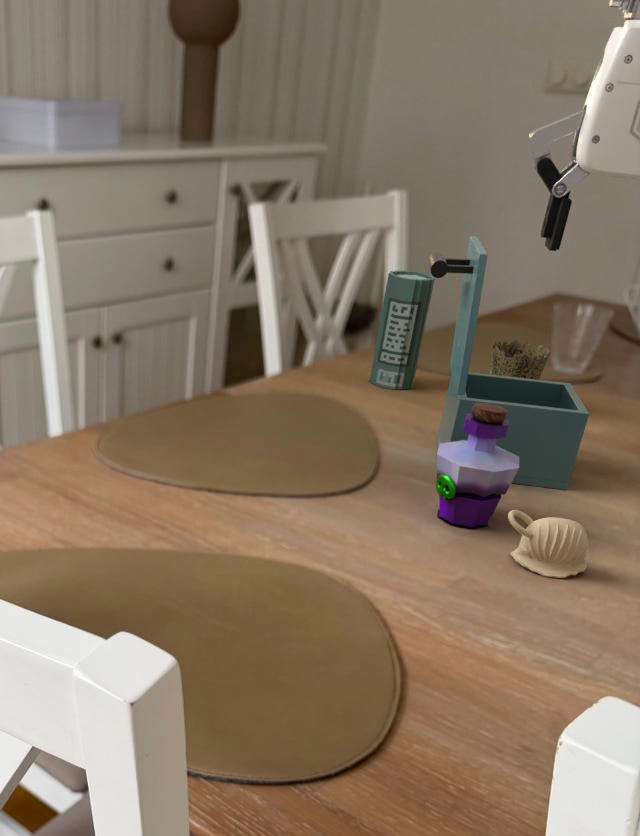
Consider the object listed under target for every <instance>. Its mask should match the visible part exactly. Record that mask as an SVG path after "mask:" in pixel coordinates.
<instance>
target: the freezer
mask: <svg viewBox="0 0 640 836" xmlns="http://www.w3.org/2000/svg"><path fill="white" fill-rule="evenodd" d="M475 403H487V404H493V405H497V406H500V407H503V408H505V409H506V410H507V411H508V412H507V415H506V418H505V419H507V420H509V424H508V429H507V433H506V437H505V438H499V439H497V442H496V446H498V447H500V448H502V449H504V450H506V451H508V452H511V453H513V454H515V455H517V456H519V469H518V471H517V473H516V475H515V477H514V479H513V481H512V482H511V484H516V485H524V486H531V487H539V488H548V489H555V490H563V491H567V489H568V486H569V482H570V480H571V476H572V473H573V469H574V465H575V463H576V459H577V457H578V453H579V449H580V446H581V443H582V440H583V436H584V433H585V430H586V426H587V424H588V419H589V417H590V413H589V411H588V409H587V408H586V407H585V405H584V403H583V401H582V400H581V398H580V396H579V395H578V394H577V392H576V390H575V389H574V387H573V386H572V383H569V382H560V381H554V380H553V381H552V380H544V379H539V380H535V379H526V378H517V377H508V376H499V375H490V373H481V372H480V373H479V372H472V371H468V377H467V383H466V389H465V395H457V392H456V388H455V384H454V380H453V377H452V373H451V374H450V379H449V383H448V387H447V391H446V396H445V401H444V405H443V410H442V414H441V418H440V423H439V428H438V433H437V437H436V445H437V449H438V448H439V444H440V443H447V442H454V441H462V440H466V441H468V437H469V434H468V433H466V432H464V431H463V428H464V423H465V419H466V414H468V413H471V410H472V408H473V406H474V404H475Z"/></svg>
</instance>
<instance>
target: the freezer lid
mask: <svg viewBox="0 0 640 836" xmlns="http://www.w3.org/2000/svg"><path fill="white" fill-rule="evenodd" d="M488 256H489V255H488V253H487V251H486V248H485V247H484V246H483V243H482V242H481V240H480V239H479V238H478V236H477V235H470V236H469V238H468V244H467V251H466V258H453V257H452V258H450V257H449V258H448V257H445V255H444V254H443V253H442V252H433V253H432V254H431V255H430V256H429V258H428V259H427V260H428V261H427V263H428V267H429V270H430V275H432V276H433V277H435V279H441V278H443V277H445V276H446V275H447V274H463V276H462V277H463V278H462V282H461V283H462V284H461V290H460V297H459V303H458V310H457V314H456V315H457V316H456V322H455V328H454V334H453V341H452V348H451V355H450V361H449V369H450V372H451V373H452V377H453V380H454V384H455V388H456V392H457V395H465V389H466V383H467V377H468V372H470V371H469V370H470V365H471V358H472V353H473V352H472V351H473V346H474V340H475V335H476V328H477V323H478V317H479V310H480V304H481V298H482V291H483V287H484V280H485V275H486V274H485V273H486V268H487V261H488Z"/></svg>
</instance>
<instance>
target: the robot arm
mask: <svg viewBox="0 0 640 836" xmlns="http://www.w3.org/2000/svg"><path fill="white" fill-rule="evenodd" d="M608 7H610V8H618V10H619V11H622V14H624V15H623V20H624V23H623V26H616V27H614V28H613V30H612V31H611V34H610V36H609V38H608V41H607V42H606V45H605V48H604V50H603V52H602V54H601V57H600V60H599V62H598V64H597V68H596V70H595V73H594V75H593V79H592V81H591V83H590V86H589V90H588V93H587V96H586V98H585V102H584V104H583V107H582V109H581V110H579V111H577V112H574V113H572V114H569V115H567V116H565V117H563V118H560V119H558V120H555V121H553V122H550V123H548V124H546V125H543V126H541V127H538V128H536V129H534V130H532V131H530V132H529V134H528V144H529V148H530V152H531V156H532V160H533V164H534V169H535V171H536V173H537V174H538V176H539V177H540V179H541V181H542V182H543V185H545V187H546V188H547V191H548V192H549V193H550V194H549V197H548V202H547V206H546V209H545V214H544V217H543V221H542V226H541V229H540V238H544V239H545V240H544V241H545V242H544V247H546V248H547V250H548V251H549V252H550V251H551V252H557V251H559V250H560V249H561V244H562V240H563V236H564V234H565V230H566V226H567V222H568V219H569V215H570V210H571V207H572V202H573V200H572V199H571V198H570V195H571V190H573V189H574V188H575V187H576V186H578V184H580V183H581V182H582V181H583V180H584V179H585V178H587V177H588V176H589V175H590V174H591V175H595V176H601V177H608V178H616V179H617V178H619V179H628V180H629V179H630V180H640V0H609V2H608ZM572 134H574V137H573V141H572V145H571V149H570V150H571V151H570V160H571V161H570V162H569V163H568V164H566V166H565V167H563V168H562V169H561V170H558V167H557V166H556V165H555V163H554V162H553V159H552V154H551V146H552V144H553V143H554V142H555V141H558V140H560V139H562V138H565V137H567V136H570V135H572Z"/></svg>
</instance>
